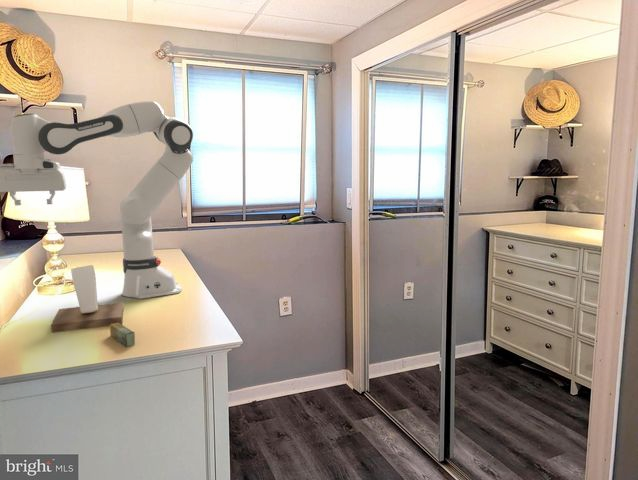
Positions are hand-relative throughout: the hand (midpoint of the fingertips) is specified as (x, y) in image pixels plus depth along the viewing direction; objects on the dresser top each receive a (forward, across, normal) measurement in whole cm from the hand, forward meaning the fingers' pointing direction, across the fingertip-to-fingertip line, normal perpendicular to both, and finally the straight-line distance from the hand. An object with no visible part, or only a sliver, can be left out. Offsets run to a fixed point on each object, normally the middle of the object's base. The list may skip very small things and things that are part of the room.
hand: (34, 204), depth 158 cm
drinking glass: (+34, +16, -18) cm, 42 cm away
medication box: (+38, +26, -40) cm, 61 cm away
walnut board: (+37, +16, -18) cm, 44 cm away
